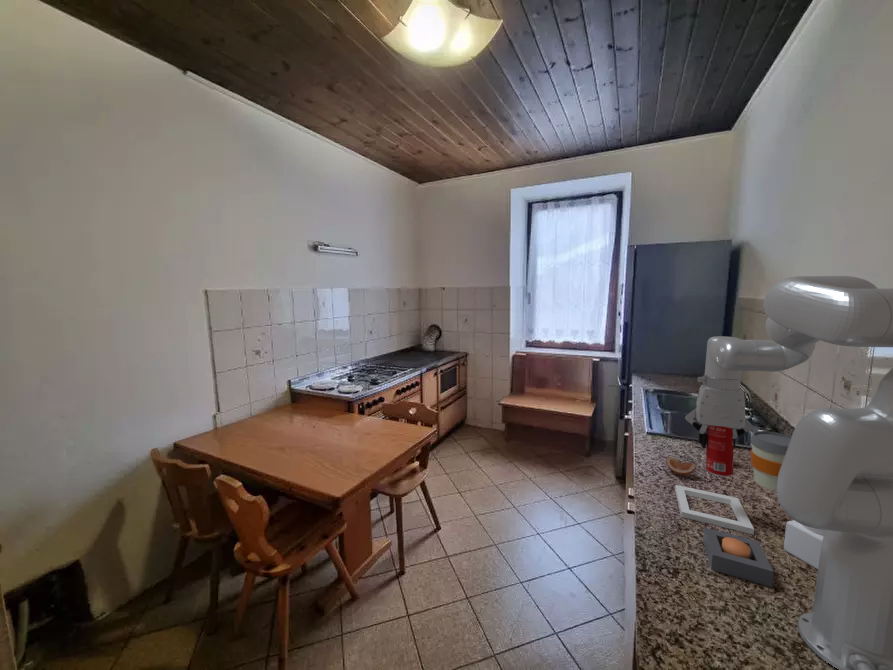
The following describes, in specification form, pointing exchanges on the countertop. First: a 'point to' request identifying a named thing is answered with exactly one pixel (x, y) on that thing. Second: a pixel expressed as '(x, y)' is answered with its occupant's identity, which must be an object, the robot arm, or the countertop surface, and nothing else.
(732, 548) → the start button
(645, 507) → the countertop surface
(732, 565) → the grey square holder
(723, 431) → the beverage can
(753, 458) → the reusable coffee cup
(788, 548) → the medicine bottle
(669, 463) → the fruit slice
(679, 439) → the countertop surface
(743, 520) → the white picture frame
